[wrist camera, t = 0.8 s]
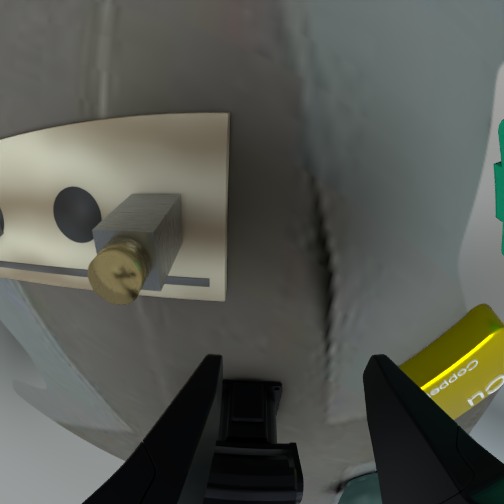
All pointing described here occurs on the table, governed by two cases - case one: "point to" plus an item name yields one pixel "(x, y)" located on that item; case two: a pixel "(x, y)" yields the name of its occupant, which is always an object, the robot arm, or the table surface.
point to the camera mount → (500, 181)
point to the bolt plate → (115, 196)
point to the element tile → (462, 362)
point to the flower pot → (362, 491)
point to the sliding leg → (136, 246)
